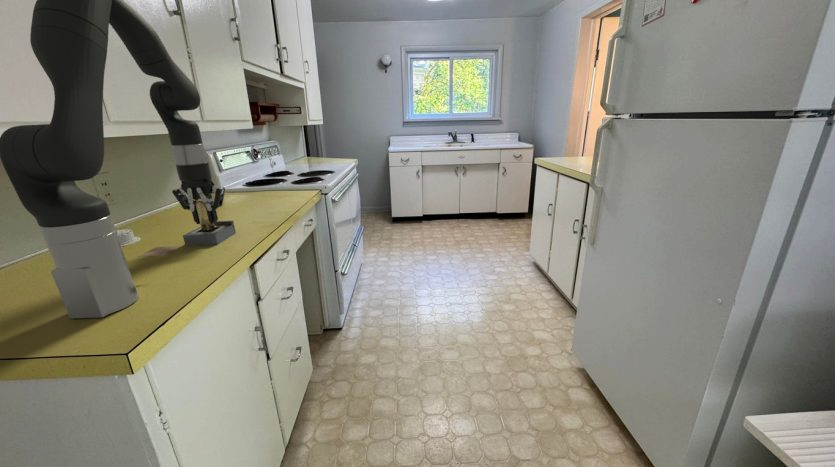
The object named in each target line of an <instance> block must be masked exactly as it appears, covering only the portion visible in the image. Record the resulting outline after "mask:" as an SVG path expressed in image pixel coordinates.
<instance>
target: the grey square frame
mask: <svg viewBox="0 0 835 467" xmlns="http://www.w3.org/2000/svg"><path fill="white" fill-rule="evenodd" d="M214 224H215V228H214V229H210V230H202V229H201V226H199V227H197V228H195V229H192V230H190V231H189V232H187V233H185V234H183V235H182V237H183V241H184V245H185V247H191V246H193V247H194V246H218V245H220V244H221V243H223V242H225V241H227V240H228V239H229V238H231V237H232V236H234V235H236V233H237V232H236V227H235V223H234V220H217V222H216V223H214Z"/></svg>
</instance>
